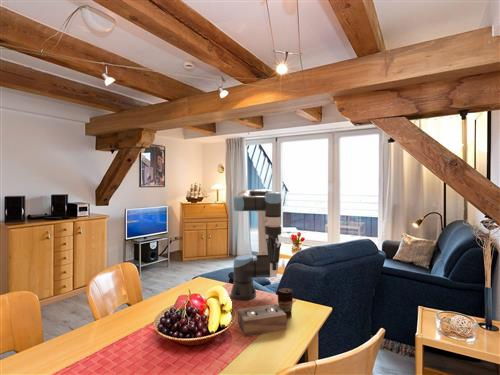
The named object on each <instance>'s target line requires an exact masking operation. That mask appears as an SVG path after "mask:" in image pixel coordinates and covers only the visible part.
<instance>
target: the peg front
mask: <svg viewBox="0 0 500 375" xmlns="http://www.w3.org/2000/svg"><path fill="white" fill-rule="evenodd" d="M255 315H256V312H255V311H248V312H247V316H248V317H249V316H255Z"/></svg>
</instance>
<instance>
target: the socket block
mask: <svg viewBox="0 0 500 375" xmlns="http://www.w3.org/2000/svg"><path fill="white" fill-rule="evenodd" d="M268 308H275V309H276V312H275V313H268V312H267V309H268ZM248 311H255V312H256V315H255V316H249V317H248V316H247V312H248ZM287 319H288V318H286V313H285V312H284V311H283V310H282V309H281V308H280V307H279V305H278V303H273V304H266V305H265V304H264V305H258V306H251V307H245V308H243V307H242V308H238V309H237V325H238V327H239V329H240V331H241V333H242V335H243V337H244V338H246V337H253V336H258V335H264V334H269V333H276V332H281V331H286V330H287V327H288V326H287V324H288V323H287Z"/></svg>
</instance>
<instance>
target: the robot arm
mask: <svg viewBox="0 0 500 375" xmlns="http://www.w3.org/2000/svg"><path fill="white" fill-rule="evenodd" d="M233 210H234V211H235V212H255V213H257V233H258V234H257V235H258V236H257V238H258V252H257V253H256V254H255V255H256V257H254V256H253V255H251V254H243V255H239V256H236V257H235V258H234V259H233V266H232V267H233V284H232V288H231V290H230V296H231V298H232V299H235V300H236V301H237V300H238V301H249V300H252V299H255V297H256V296H257V290H256V288H255V287H256V286H255V285H254V279H261V278H262V279H264V278H265V279H266V278H267V279H270V278H277V276H278V271H279V263H280V254H281V246H282V243H281V242H279V241H280V240H279V235H281V234H282V194H281V192H277V191H276V192H274V190H273V189H266V188H265V189H264V188H262V189H258V188H257V189H245V190H242V191H240V192H238V194H237V195H235V196H234V197H233Z"/></svg>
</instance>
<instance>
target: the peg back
mask: <svg viewBox="0 0 500 375" xmlns="http://www.w3.org/2000/svg"><path fill="white" fill-rule="evenodd" d="M267 312H268V313H275V312H276V309H275V308H268V309H267Z"/></svg>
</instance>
